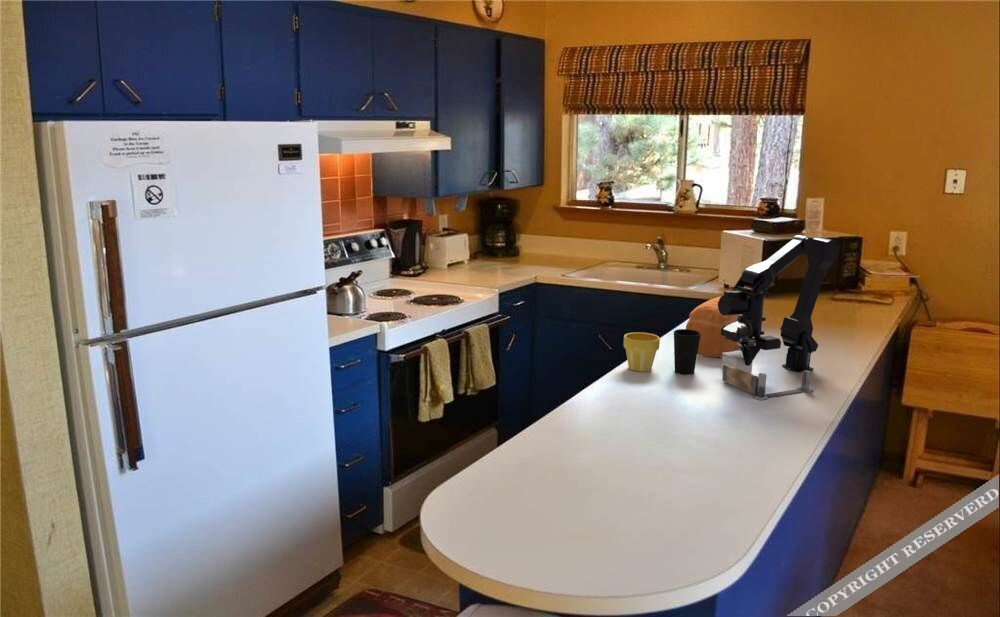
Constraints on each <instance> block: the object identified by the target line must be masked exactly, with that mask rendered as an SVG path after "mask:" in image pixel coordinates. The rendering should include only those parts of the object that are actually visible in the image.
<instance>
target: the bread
mask: <svg viewBox="0 0 1000 617" xmlns="http://www.w3.org/2000/svg"><path fill="white" fill-rule="evenodd" d="M721 296H722V295H721ZM721 296H717V297H715V298H710V299H708V300H706V301H705V302H703V303H701V304H699V305H697V307H695V308H694V309H693V310H692V311H691V312H690V313H689V316H688V318H689V319H688V320H687V323H686V325H685V329H690V330H695V331H698V332H700V333H701V337H700V342H699V348H698V354H697V356H704V357H710V358H723V355H722V353H725V352H733V351H734V350H736V349H737V348H739V347H740V346H739V345H738V344H737V343H736V342H733V341H732V340H729V339H726V338H725V336H723V335H721V328H722V327H723V326H724V325H730V324H732V323H734V322H737V318H738V315H742V314H738V315H728V316H724V315H722V314H721V313H720V312H719V309H718V301H719V299H720V297H721Z"/></svg>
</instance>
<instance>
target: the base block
mask: <svg viewBox="0 0 1000 617" xmlns="http://www.w3.org/2000/svg"><path fill="white" fill-rule="evenodd" d="M722 355H723V357H722V361H721V362H722V363H721V370H722V371H723V365H725V364H729V365H731V366H732V367H735V368H737V369H739V370H742V371H744V372H747V373H749V374H752V373H753V372H752V371H753V364H754V363H753V362H754V360H753V361H752V363H751V364H750V366H746V365H745V362H744V358H743V354H742V350H735V351H734V350H733V351H731V352H725V353H722Z"/></svg>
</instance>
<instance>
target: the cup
mask: <svg viewBox="0 0 1000 617" xmlns="http://www.w3.org/2000/svg"><path fill="white" fill-rule="evenodd" d="M700 337H701V333H700V332H698V331H695V330H690V329H686V328H678V329H675V330H674V331H673V355H674V356H673V357H674V363H673V364H674V373H675V374H678V375H682V376H691V375H692V376H693V374H695V369H696V364H697V360H698V355H697V354H698V348H699V342H700Z"/></svg>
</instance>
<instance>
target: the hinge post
mask: <svg viewBox="0 0 1000 617" xmlns="http://www.w3.org/2000/svg"><path fill="white" fill-rule="evenodd" d="M767 377H768V376H767V373H763V372H762V373H758V387H757V394H756V395H754V394H753V396H752V397H753V398H754V399H755V400H759V401H765V400H768V399H769V398H768V397H767V396H766V395H765V394H766V384H767Z"/></svg>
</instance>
